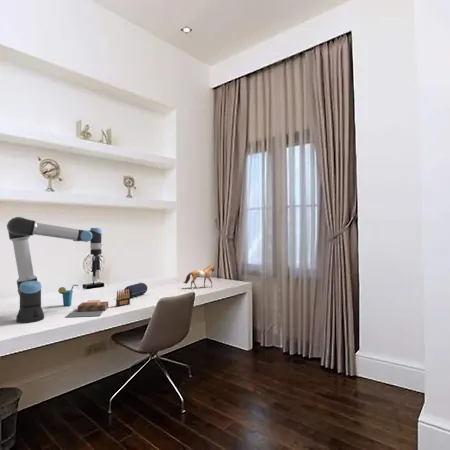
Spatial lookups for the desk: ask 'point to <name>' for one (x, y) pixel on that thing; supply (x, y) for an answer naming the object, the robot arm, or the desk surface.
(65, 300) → the cup
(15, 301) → the desk surface
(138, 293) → the portable speaker
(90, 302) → the coaster
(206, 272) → the horse figurine
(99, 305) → the deck
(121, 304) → the ammunition clip
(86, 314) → the mat
